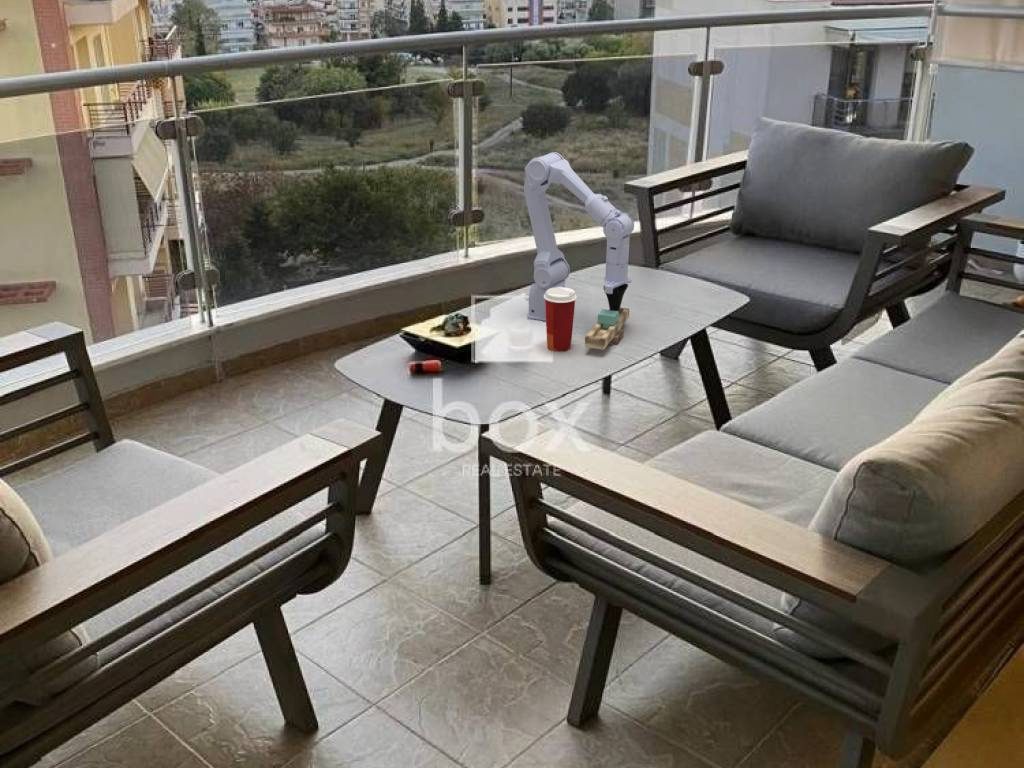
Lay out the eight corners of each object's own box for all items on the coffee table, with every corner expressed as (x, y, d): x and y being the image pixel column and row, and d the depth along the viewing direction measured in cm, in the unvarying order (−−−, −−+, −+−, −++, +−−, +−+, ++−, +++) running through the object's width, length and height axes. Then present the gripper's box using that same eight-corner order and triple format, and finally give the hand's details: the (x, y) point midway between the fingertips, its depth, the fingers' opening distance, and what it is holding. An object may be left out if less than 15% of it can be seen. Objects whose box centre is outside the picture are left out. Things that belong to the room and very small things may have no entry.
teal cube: (613, 330, 260) (614, 316, 258) (597, 328, 261) (597, 314, 259) (618, 325, 263) (618, 311, 261) (601, 322, 264) (602, 309, 263)
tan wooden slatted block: (607, 357, 252) (608, 340, 250) (580, 353, 255) (581, 336, 253) (632, 325, 273) (633, 309, 271) (607, 321, 275) (607, 305, 273)
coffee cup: (580, 345, 260) (582, 289, 253) (565, 355, 253) (567, 299, 247) (551, 338, 263) (553, 284, 257) (536, 349, 257) (537, 293, 251)
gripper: (624, 271, 253) (621, 322, 259) (639, 255, 266) (636, 304, 271) (597, 268, 256) (595, 318, 261) (613, 252, 268) (611, 300, 274)
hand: (614, 311), depth 266 cm, fingers closed
